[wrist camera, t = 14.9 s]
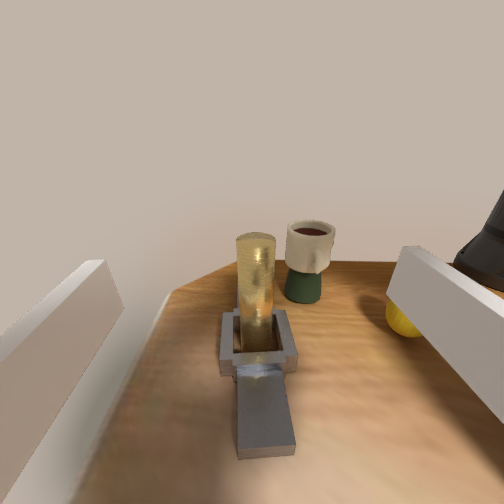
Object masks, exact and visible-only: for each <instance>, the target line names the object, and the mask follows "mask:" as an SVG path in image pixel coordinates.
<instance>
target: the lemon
mask: <svg viewBox="0 0 504 504" xmlns="http://www.w3.org/2000/svg"><path fill="white" fill-rule="evenodd" d="M386 319H387V322H388V324H389V326H390V327H391V328H392V329H393V330H394V331H395V332H397V333H398V334H400V335H402V336H405V337H411V338H415V337H421V336H423V335H422V334H421V332H420V331H419V330H418V329H417V328H416V327H415V326H414V325H413V324H412V322H411V321H410V320H409V319H408V318H407V317H406V316H405V315H404V314H403V313H402V311H401V310H400V309H399V308H398V307H397V306H396V305H395V304H394V303H393V301H392V300H391V299H390V300H389V302H388V303H387V306H386Z"/></svg>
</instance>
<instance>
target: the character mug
mask: <svg viewBox="0 0 504 504" xmlns="http://www.w3.org/2000/svg"><path fill="white" fill-rule="evenodd" d="M334 236H335V228H334V227H333V226H332V225H330V224H328V223H324V222H321V221H315V220H297V221H294V222H291V223H290V224H288V228H287V239H286V252H285V263H286V264H287V266H288V267H290V269H289V272H288V276H287V280H286V284H285V289H284V291H285V295H286V296H287V297H288V298H289V299H291V300H293V301H296V302H299V303H315V302H317V301H318V300H319V299H320V296H321V271H322V270H324V269H326V268H327V267H328V265H329V263H330V251H331V248H332V246H333V244H334Z"/></svg>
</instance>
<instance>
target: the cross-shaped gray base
mask: <svg viewBox="0 0 504 504" xmlns="http://www.w3.org/2000/svg"><path fill="white" fill-rule="evenodd" d="M272 329H275V333H276V338H277V343H278V348H279V351H270V352H252V353H235V354H234V331H240V313H239V291H238V285H237V308H233V312H225V313H223V316H222V330H221V343H220V356H219V363H220V372H221V376H233V381H234V382H237V415H238V460H240V459H252V458H264V457H277V456H289V455H294V452H295V447H296V442H295V437H294V432H293V426H292V421H291V416H290V411H289V405H288V400H287V395H286V390H285V385H284V379H285V373H286V372H296V366H297V359H298V354H297V350H296V347H295V343H294V339H293V336H292V332H291V329H290V325H289V321H288V318H287V314H286V311H285V310H275V308H274V307H273V312H272Z"/></svg>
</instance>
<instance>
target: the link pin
mask: <svg viewBox="0 0 504 504" xmlns="http://www.w3.org/2000/svg"><path fill="white" fill-rule="evenodd" d="M236 246H237V269H238V291H239V313H240V335H241V351H242V353H252V352H270V351H271V334H272V312H273V291H274V269H275V248H276V240H275V238H274V237H273V236H272V235H269V234H266V233H260V232H253V233H246V234H243V235H241V236H239V237H238V238H237V239H236Z"/></svg>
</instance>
